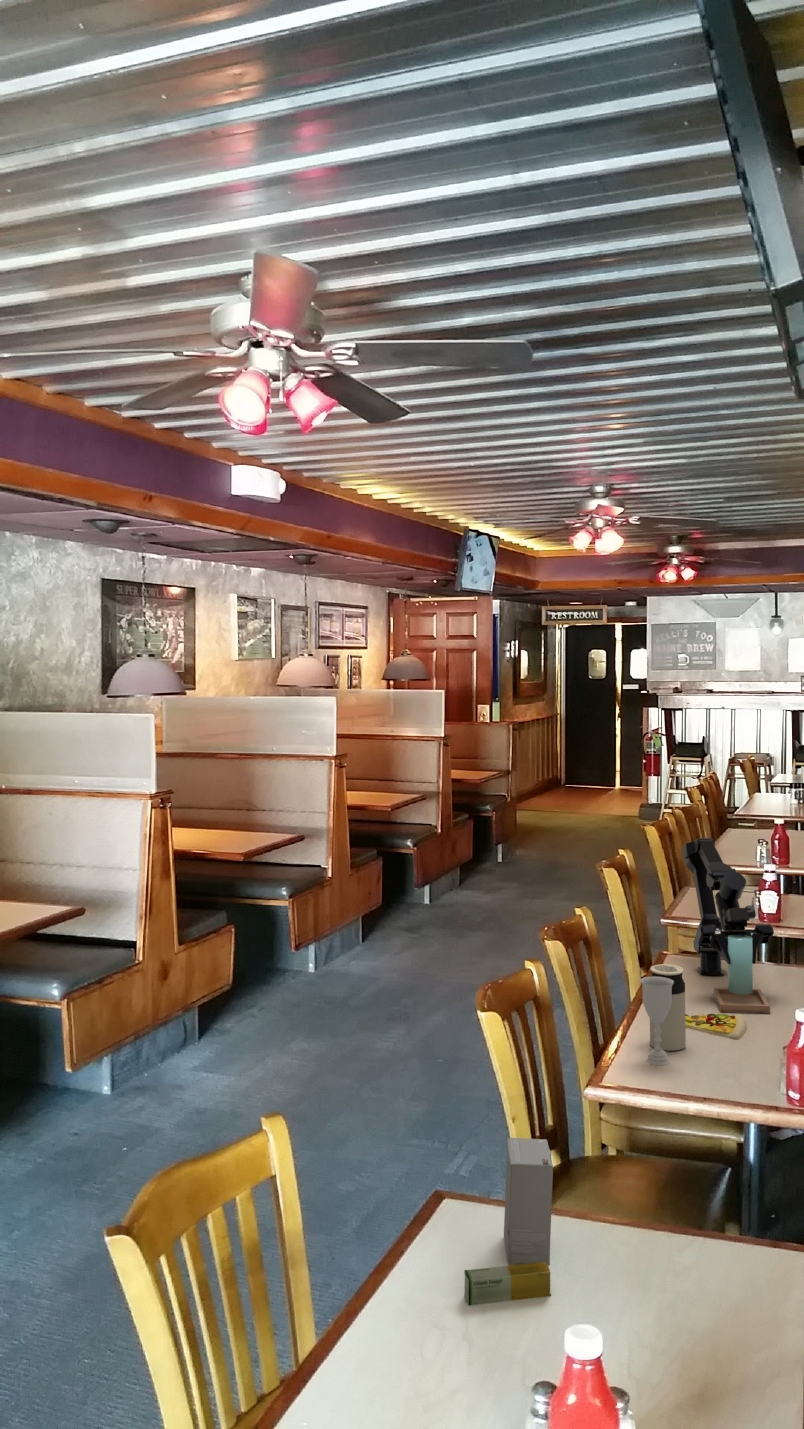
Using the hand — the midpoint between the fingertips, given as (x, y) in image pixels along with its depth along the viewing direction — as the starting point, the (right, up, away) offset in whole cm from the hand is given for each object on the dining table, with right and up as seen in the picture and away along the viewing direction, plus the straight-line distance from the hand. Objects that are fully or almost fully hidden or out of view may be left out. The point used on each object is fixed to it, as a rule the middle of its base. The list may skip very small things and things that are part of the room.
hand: (741, 963), depth 269 cm
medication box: (-72, -18, -122) cm, 143 cm away
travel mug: (-26, -13, -26) cm, 39 cm away
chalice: (-30, -13, -36) cm, 49 cm away
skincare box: (-68, -17, -110) cm, 131 cm away
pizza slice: (-14, -13, -13) cm, 23 cm away
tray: (0, -11, +2) cm, 11 cm away
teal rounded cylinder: (0, -8, +2) cm, 8 cm away
